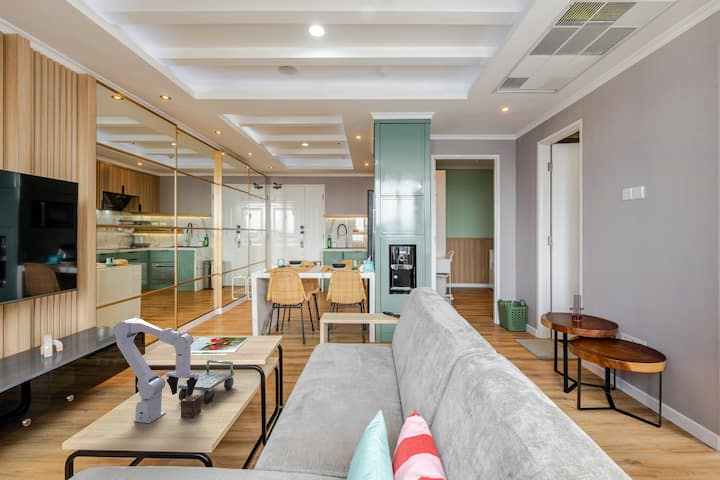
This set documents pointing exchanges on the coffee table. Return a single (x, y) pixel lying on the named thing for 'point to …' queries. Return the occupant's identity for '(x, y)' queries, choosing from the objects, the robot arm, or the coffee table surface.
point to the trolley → (209, 382)
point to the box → (190, 406)
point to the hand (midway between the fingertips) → (182, 394)
